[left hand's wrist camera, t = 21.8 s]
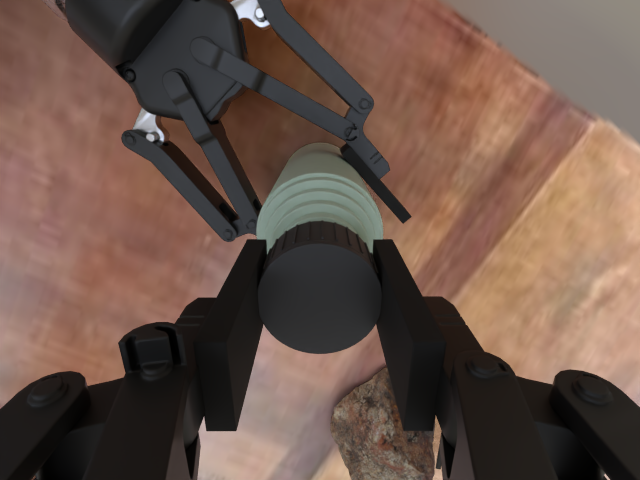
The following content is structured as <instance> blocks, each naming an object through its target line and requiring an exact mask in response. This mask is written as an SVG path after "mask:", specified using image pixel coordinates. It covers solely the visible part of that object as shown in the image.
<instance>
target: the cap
mask: <svg viewBox="0 0 640 480" xmlns="http://www.w3.org/2000/svg"><path fill="white" fill-rule="evenodd" d="M262 270H263V271H262V274H261V277H260V280H259V281H260V282H259V285H258V304H259V315H260V318H261V320H262V322H263V324H264V325H265V327H266V328H267V330H268V331H269V332H270V333H271V334H272V335H273V336H274V337H275V338H276V339H277V340H279V341H280V342H281V343H283V344H285V345H287V346H288V347H291V348H293V349H295V350H298V351H302V352H306V353H314V354H327V353H334V352H338V351H341V350H344V349H347V348H349V347H351V346H353V345H355V344H356V343H358V342H359V341H361V340H362V339H363V338H364V337H366V336H367V335H368V334H369V332H370V331H371V330H372V329H373V327H374V326H375V324H376V323H377V321H378V319H379V316H380V313H381V299H382V287H381V283H380V280H379V277H378V275H379V272H378V269H377V266H376V263H375V260H374V257H373V255H372V252H371V253H370V251H369V249H368V246H367V243H366V242H365V243H364V241H363V240H362V239H361V238H360V237H359V234H356V233H355V232H353V231H352V230H350V229H349V228H348V227H345V226H342V225H340V224H337V223H336V222H334V223H333V222H328V221H323V220H321V221H312V222H310V221H308V222H306V223H303V224H299V225H298V224H297V225H296V226H295V227H293V228H291V229H289V230H288V231H287V230H286V231H285V233H284V234H283V235H281V236H280V237H279V239H276V241H275V243H274V245H273V246H272V248H270V249H269V252H268V254H267V257H266V260H265V263H264V266H263V269H262Z"/></svg>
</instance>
